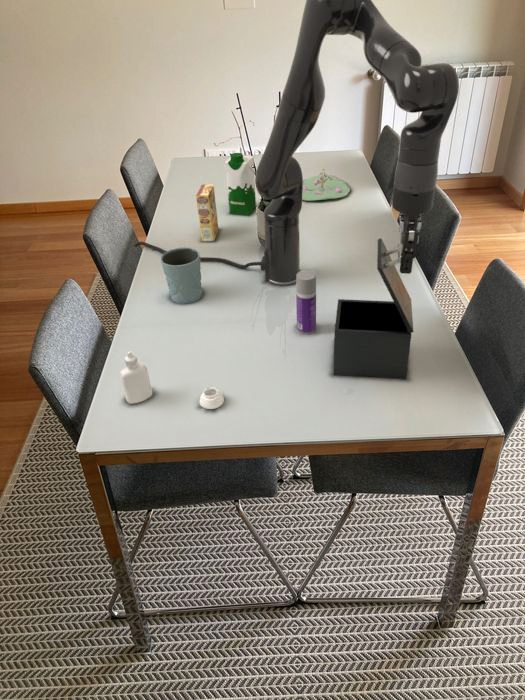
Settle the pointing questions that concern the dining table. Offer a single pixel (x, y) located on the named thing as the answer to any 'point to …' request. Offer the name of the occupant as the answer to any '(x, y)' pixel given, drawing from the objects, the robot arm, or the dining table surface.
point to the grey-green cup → (183, 274)
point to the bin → (370, 340)
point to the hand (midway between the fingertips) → (404, 264)
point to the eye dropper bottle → (135, 380)
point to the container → (306, 302)
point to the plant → (324, 188)
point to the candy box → (207, 212)
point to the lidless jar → (211, 398)
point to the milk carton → (240, 184)
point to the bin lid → (395, 282)
